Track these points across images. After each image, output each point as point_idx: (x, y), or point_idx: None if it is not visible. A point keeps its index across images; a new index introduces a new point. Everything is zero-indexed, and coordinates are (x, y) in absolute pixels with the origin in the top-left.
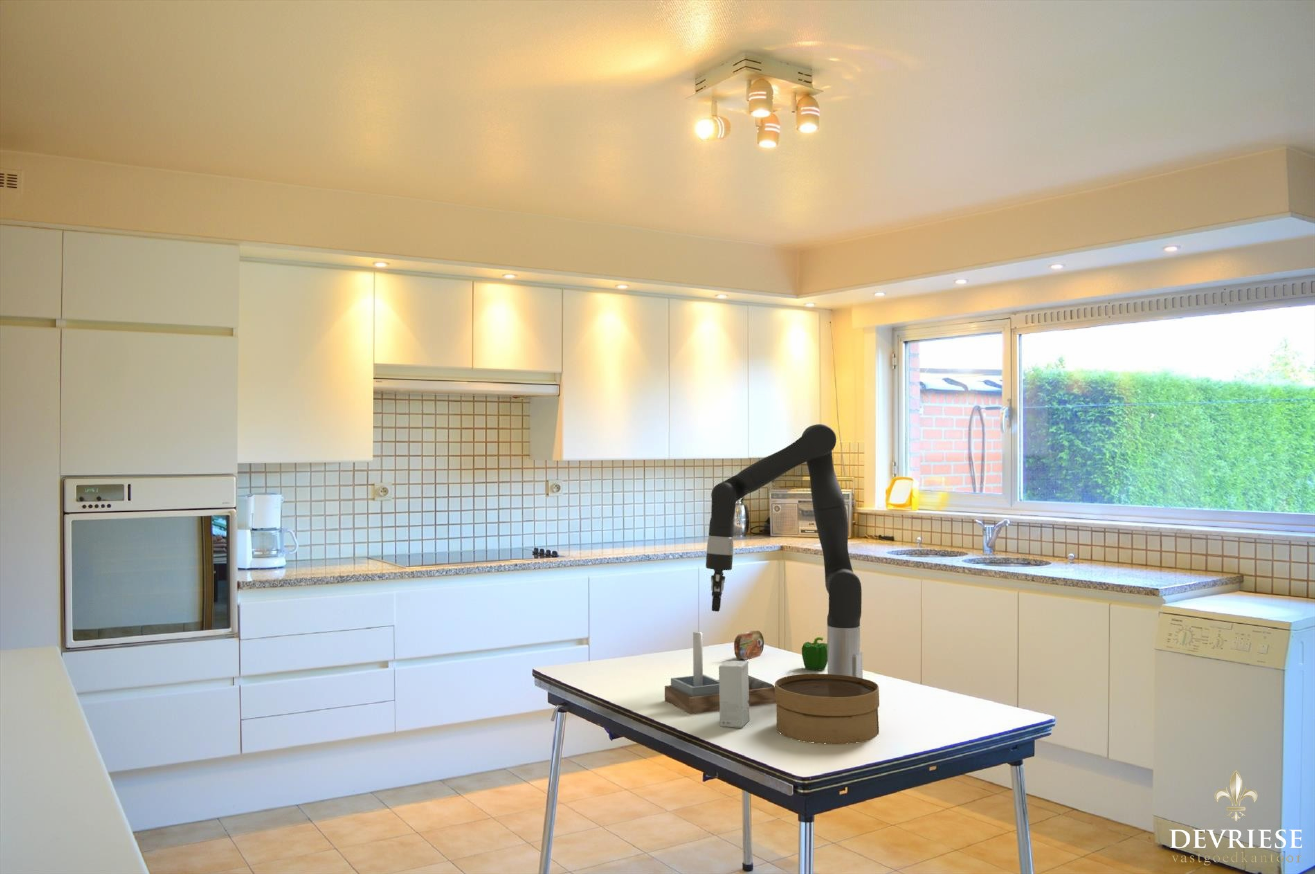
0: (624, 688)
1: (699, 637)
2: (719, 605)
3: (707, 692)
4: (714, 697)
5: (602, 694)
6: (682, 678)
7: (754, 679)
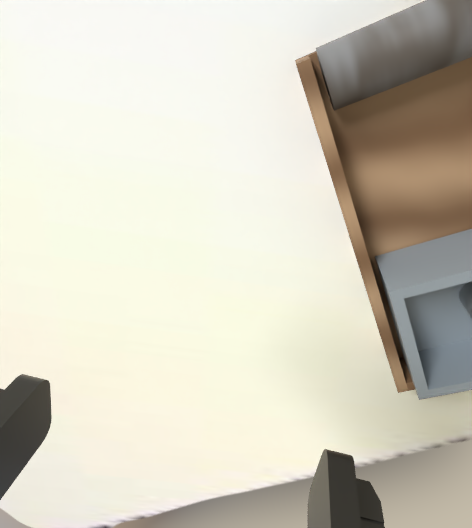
0: (222, 424)
1: None
2: (359, 509)
3: None
4: None
5: (282, 469)
6: (420, 364)
7: (439, 50)
